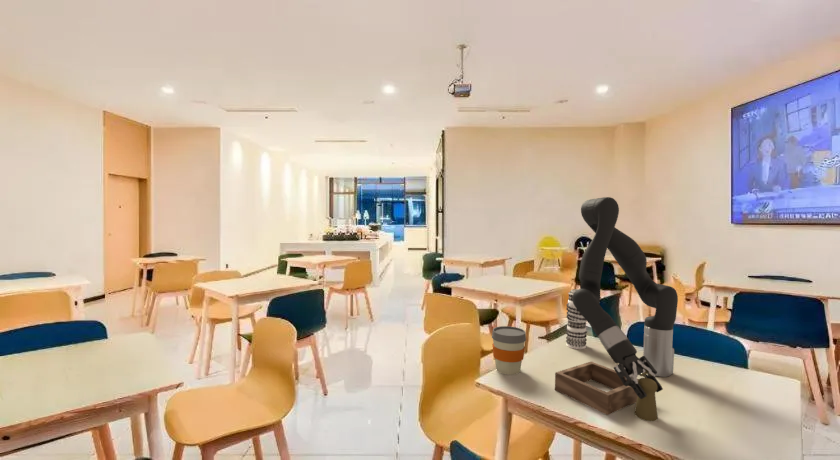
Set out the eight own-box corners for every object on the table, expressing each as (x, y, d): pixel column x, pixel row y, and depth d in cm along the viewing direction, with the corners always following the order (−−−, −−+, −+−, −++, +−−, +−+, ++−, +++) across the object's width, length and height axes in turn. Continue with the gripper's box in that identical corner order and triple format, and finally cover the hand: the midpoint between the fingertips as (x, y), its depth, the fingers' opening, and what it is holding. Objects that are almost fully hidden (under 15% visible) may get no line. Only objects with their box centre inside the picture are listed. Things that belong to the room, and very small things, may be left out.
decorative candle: (589, 345, 181) (591, 290, 179) (583, 350, 173) (585, 293, 172) (569, 340, 186) (571, 287, 185) (562, 346, 179) (563, 290, 178)
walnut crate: (590, 377, 146) (590, 361, 146) (643, 399, 130) (644, 381, 129) (554, 389, 136) (555, 372, 136) (607, 415, 120) (608, 395, 119)
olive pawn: (660, 422, 116) (662, 385, 115) (637, 419, 117) (639, 382, 117) (653, 411, 122) (655, 376, 121) (631, 409, 123) (633, 374, 122)
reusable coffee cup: (531, 369, 153) (532, 330, 152) (514, 380, 143) (515, 338, 143) (502, 361, 161) (503, 324, 160) (484, 370, 152) (485, 330, 151)
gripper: (611, 342, 121) (648, 394, 112) (638, 334, 128) (674, 383, 119) (594, 354, 125) (629, 405, 116) (621, 346, 133) (655, 393, 124)
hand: (652, 394), depth 118 cm, fingers open, 8 cm apart
